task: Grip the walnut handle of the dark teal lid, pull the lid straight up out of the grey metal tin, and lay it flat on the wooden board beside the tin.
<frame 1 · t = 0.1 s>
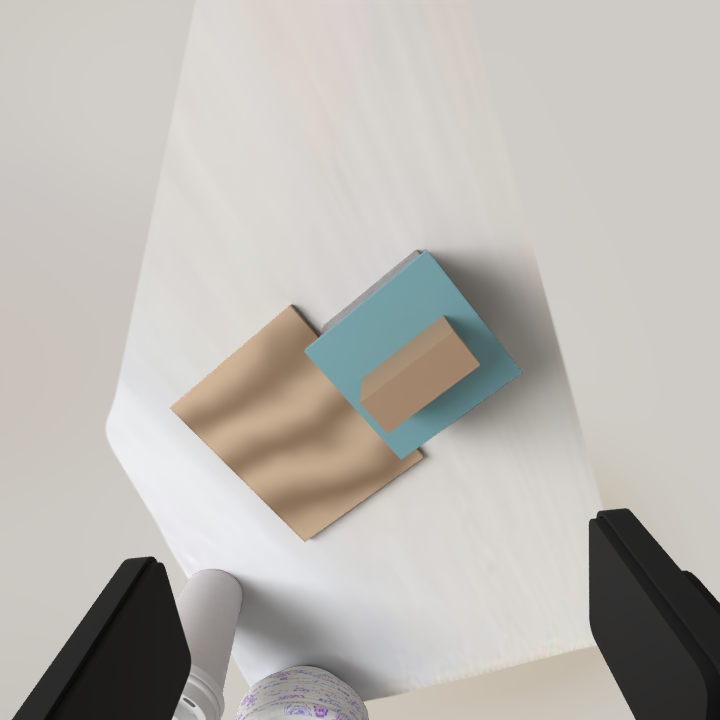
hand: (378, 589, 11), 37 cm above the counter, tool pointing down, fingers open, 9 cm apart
lid: (411, 352, 41), point 6 cm above the counter, touching tin
wooden board: (299, 429, 50), on the counter
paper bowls: (306, 692, 61), on the counter
coffee cup: (215, 591, 57), on the counter
tin: (405, 333, 47), on the counter
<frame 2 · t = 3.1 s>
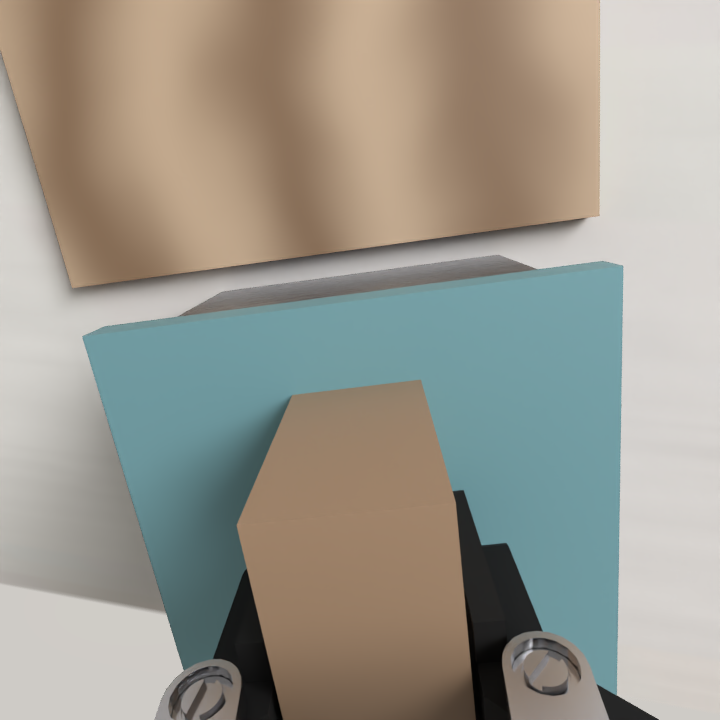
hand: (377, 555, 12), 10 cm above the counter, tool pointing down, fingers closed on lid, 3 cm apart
lid: (376, 482, 15), point 6 cm above the counter, touching gripper, tin
wooden board: (293, 16, 17), on the counter
tin: (375, 402, 21), on the counter
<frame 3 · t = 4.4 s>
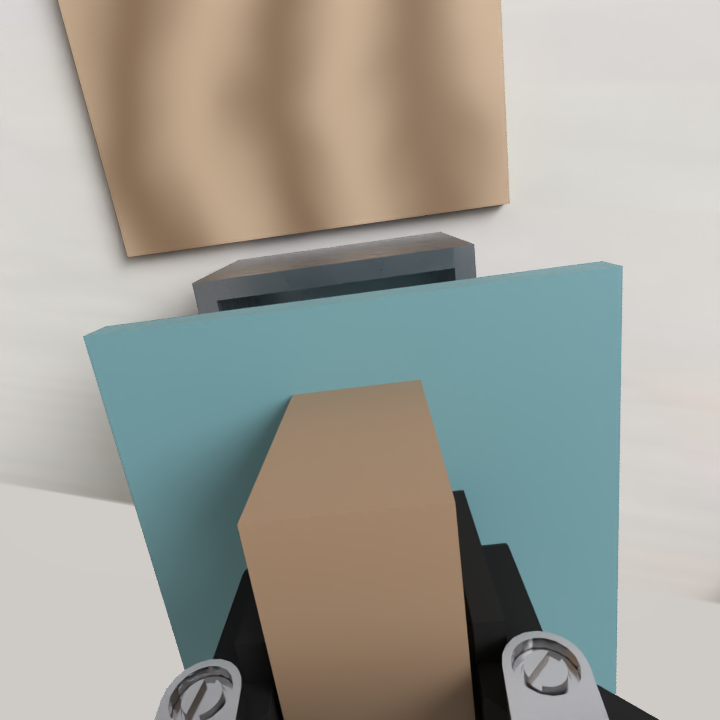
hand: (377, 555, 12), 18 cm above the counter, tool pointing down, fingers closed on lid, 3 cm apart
lid: (376, 482, 15), point 14 cm above the counter, touching gripper
wooden board: (290, 61, 24), on the counter
tin: (352, 343, 29), on the counter
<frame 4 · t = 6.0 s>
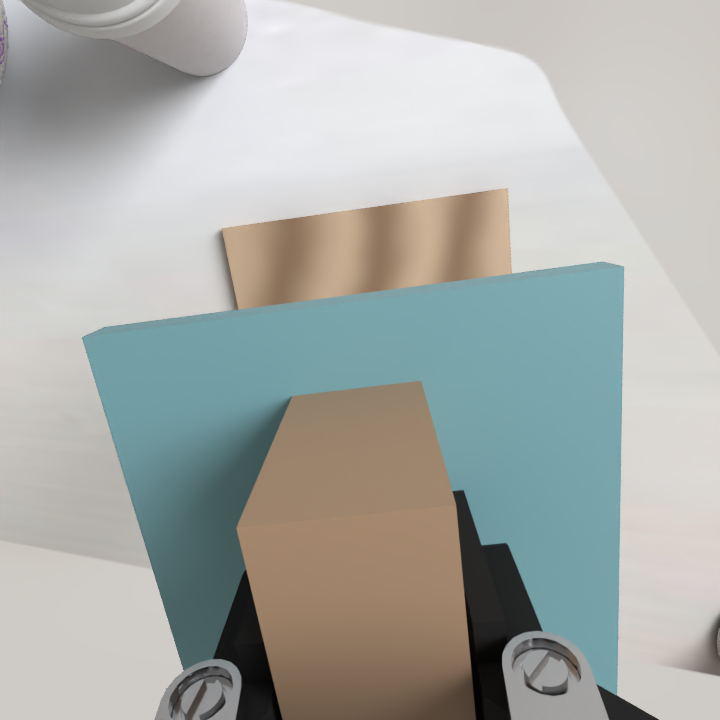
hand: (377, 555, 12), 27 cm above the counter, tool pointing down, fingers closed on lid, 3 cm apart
lid: (376, 483, 15), point 24 cm above the counter, touching gripper
wooden board: (376, 318, 38), on the counter
coffee cup: (199, 21, 33), on the counter
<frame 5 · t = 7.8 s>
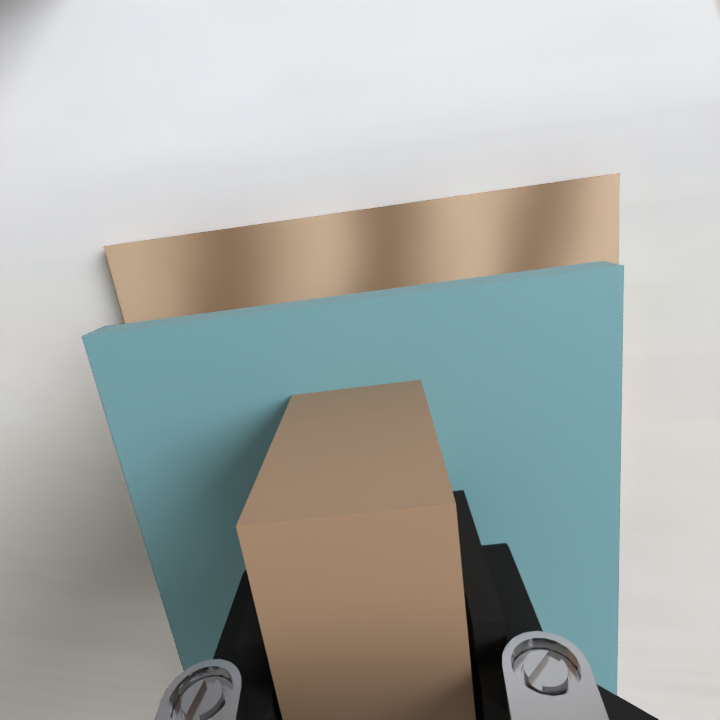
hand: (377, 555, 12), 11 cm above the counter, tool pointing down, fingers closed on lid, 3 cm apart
lid: (376, 482, 15), point 7 cm above the counter, touching gripper
wooden board: (378, 397, 22), on the counter
when the fingers open (6 cm above the counter, at t = 9.1 s): lid drops 1 cm, resting on wooden board.
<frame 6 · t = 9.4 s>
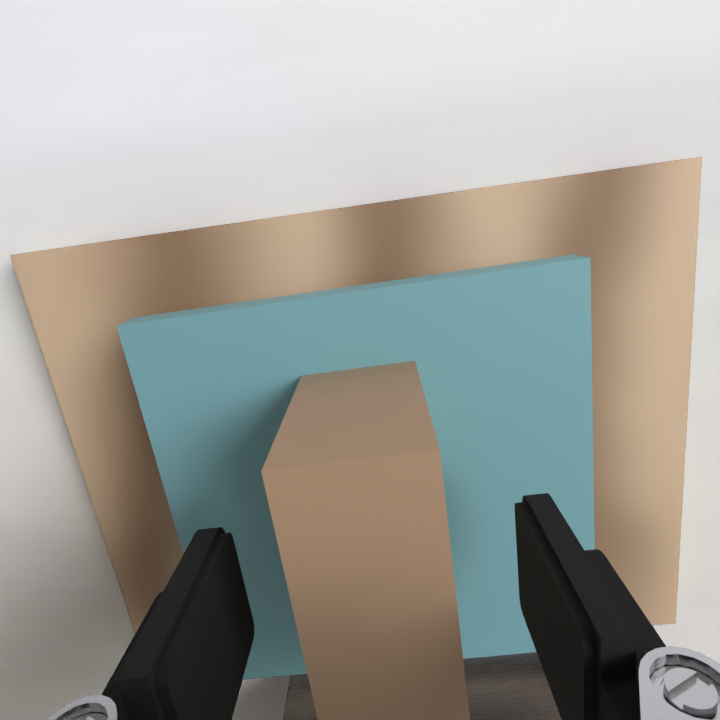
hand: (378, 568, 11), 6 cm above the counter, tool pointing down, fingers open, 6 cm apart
lid: (377, 458, 17), point 1 cm above the counter, touching wooden board
wooden board: (376, 446, 17), on the counter
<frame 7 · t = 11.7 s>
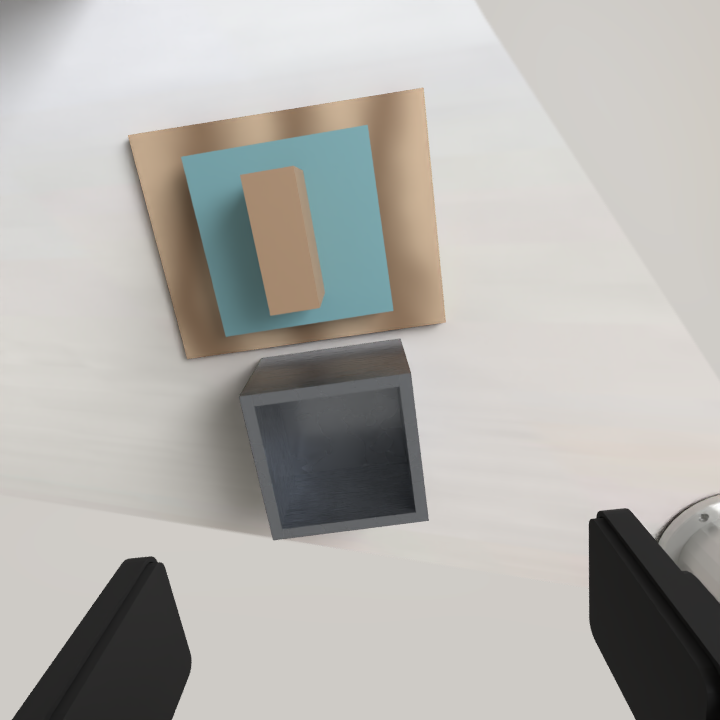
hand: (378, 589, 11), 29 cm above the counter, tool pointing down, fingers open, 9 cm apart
lid: (296, 234, 36), point 1 cm above the counter, touching wooden board
wooden board: (297, 233, 36), on the counter
tin: (341, 412, 41), on the counter
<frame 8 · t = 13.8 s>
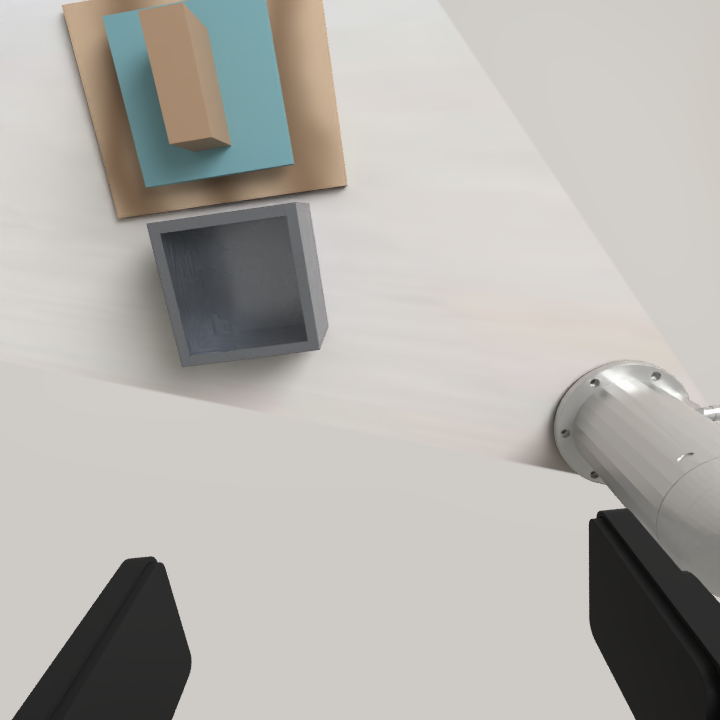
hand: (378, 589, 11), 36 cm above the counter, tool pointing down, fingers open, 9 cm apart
lid: (210, 99, 40), point 1 cm above the counter, touching wooden board
wooden board: (213, 100, 41), on the counter
tin: (259, 275, 45), on the counter
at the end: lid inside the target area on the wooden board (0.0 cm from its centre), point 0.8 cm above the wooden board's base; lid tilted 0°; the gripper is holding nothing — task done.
